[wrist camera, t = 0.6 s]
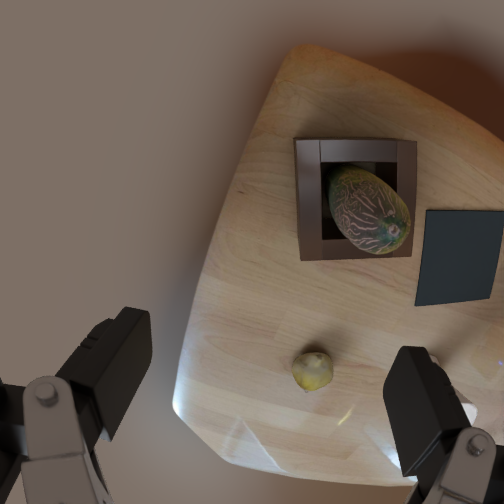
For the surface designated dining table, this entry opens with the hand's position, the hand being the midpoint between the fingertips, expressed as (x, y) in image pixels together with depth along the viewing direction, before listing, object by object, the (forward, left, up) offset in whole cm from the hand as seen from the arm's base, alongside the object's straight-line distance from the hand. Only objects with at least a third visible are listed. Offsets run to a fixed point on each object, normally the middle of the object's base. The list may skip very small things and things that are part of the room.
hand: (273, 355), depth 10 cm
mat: (+11, +26, -31) cm, 41 cm away
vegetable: (+1, +8, -31) cm, 32 cm away
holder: (+1, +8, -31) cm, 32 cm away
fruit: (+28, +4, -31) cm, 41 cm away
